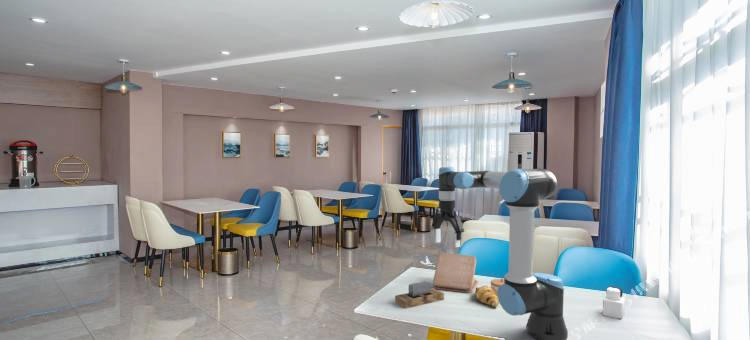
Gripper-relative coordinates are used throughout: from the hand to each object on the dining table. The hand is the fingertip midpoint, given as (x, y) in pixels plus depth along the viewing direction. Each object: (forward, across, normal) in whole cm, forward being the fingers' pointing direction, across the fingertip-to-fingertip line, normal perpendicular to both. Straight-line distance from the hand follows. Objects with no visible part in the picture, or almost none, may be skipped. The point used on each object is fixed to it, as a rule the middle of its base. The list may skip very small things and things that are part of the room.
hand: (447, 244), depth 207 cm
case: (+27, +15, -19) cm, 36 cm away
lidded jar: (+27, -11, -24) cm, 38 cm away
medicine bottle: (+28, -52, -49) cm, 76 cm away
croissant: (+27, -10, -15) cm, 33 cm away
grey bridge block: (+27, +7, +11) cm, 30 cm away
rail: (+27, +7, +11) cm, 30 cm away
